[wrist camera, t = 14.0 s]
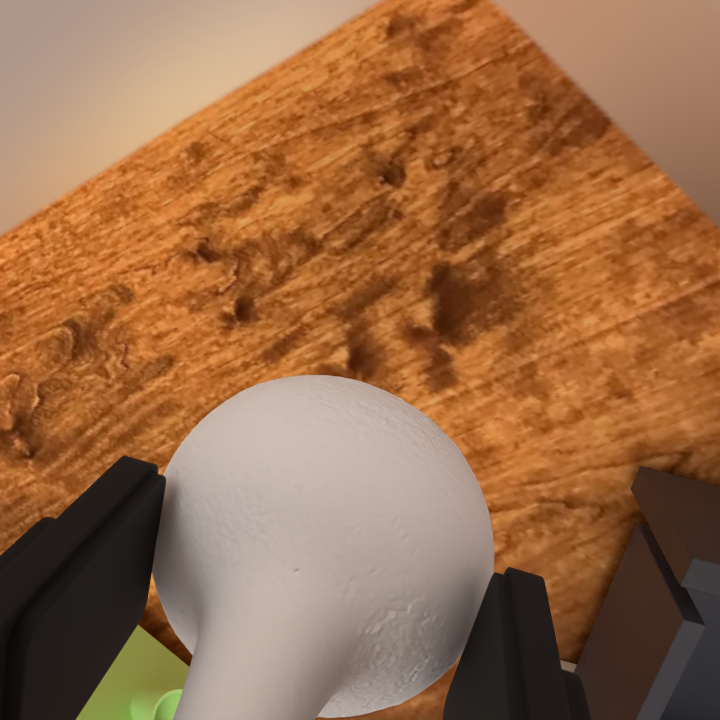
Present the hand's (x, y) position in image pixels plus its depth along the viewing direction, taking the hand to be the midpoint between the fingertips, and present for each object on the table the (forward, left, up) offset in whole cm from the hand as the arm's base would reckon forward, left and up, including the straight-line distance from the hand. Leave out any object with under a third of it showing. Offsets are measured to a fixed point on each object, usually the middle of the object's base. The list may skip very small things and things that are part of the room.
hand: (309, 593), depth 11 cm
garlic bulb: (0, 0, -3) cm, 3 cm away
